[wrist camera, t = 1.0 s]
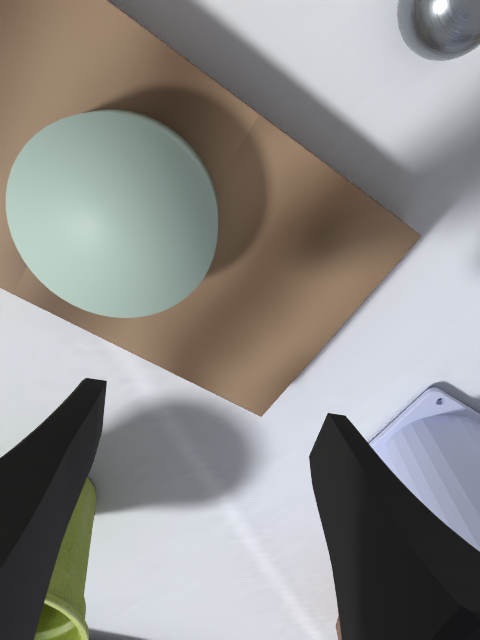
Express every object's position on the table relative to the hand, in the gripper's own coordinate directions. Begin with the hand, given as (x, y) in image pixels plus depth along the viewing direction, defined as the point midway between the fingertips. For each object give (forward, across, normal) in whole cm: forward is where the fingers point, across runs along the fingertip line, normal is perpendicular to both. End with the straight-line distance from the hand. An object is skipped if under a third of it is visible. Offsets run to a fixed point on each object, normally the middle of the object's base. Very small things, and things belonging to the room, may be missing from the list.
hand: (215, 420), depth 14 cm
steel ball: (+7, -6, -13) cm, 16 cm away
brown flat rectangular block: (+9, +4, -4) cm, 11 cm away
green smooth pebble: (+7, +4, -4) cm, 9 cm away
